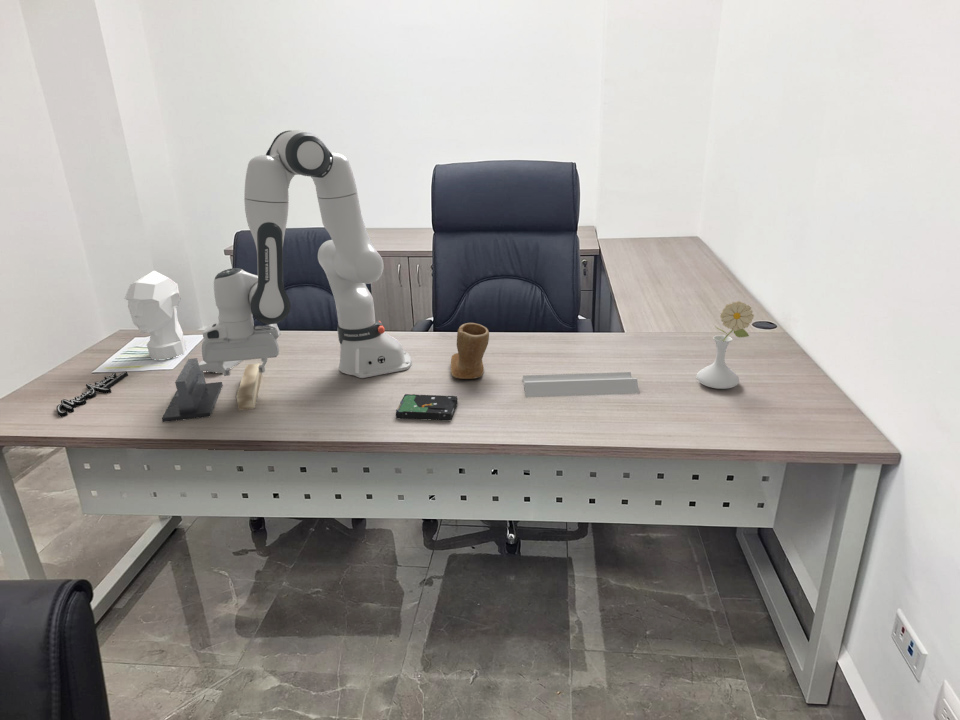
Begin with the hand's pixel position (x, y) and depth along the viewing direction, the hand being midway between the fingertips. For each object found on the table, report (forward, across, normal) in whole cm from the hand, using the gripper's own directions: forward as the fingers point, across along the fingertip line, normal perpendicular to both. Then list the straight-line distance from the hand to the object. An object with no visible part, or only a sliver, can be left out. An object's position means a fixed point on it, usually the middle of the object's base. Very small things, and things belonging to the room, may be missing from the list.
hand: (244, 373), depth 180 cm
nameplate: (+8, +45, -12) cm, 47 cm away
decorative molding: (+7, +6, -34) cm, 35 cm away
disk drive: (+6, -49, +25) cm, 55 cm away
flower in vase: (+4, -131, +32) cm, 134 cm away
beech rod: (+6, -1, 0) cm, 6 cm away
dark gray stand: (+6, +14, +2) cm, 16 cm away
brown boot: (+5, -65, +3) cm, 65 cm away
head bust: (+7, +31, -38) cm, 49 cm away
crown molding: (+5, -93, +22) cm, 95 cm away
